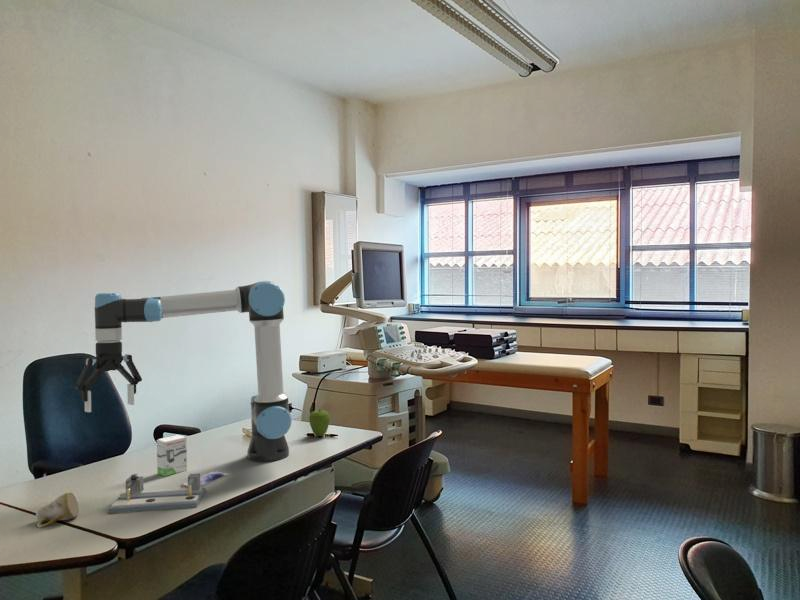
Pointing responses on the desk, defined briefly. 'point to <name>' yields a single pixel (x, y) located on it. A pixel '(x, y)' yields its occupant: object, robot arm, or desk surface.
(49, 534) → the desk surface
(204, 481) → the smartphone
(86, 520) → the desk surface
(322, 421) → the apple
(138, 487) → the sliding leg
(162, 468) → the ink box
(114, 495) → the desk surface
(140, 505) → the board
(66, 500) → the beige tapered chunky piece
